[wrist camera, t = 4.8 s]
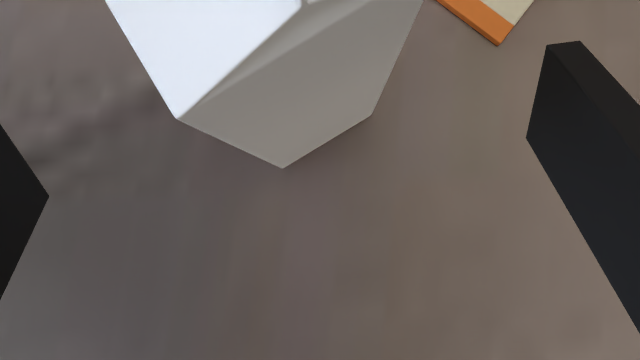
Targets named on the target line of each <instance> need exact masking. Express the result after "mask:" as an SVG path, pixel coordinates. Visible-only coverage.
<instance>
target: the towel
mask: <svg viewBox="0 0 640 360" xmlns="http://www.w3.org/2000/svg"><path fill="white" fill-rule="evenodd" d="M436 1H438V2H439V3H440V4H442V5H443V6H444V7H446V8H447V9H448V10H450V11H451V12H452V13H454V14H455V15H456V16H458V17H459V18H460V19H462V20H463V21H464V22H466V23H467V24H468V25H470V26H471V27H472V28H474V29H475V30H476V31H478V32H479V33H480V34H482V35H483V36H484V37H486V38H487V39H488V40H490V41H491V42H492V43H494V44H495V45H496V46H498V45H499V44H500V43H501V42H502V41H503V40H504V38H505V37H506V36H507V35H508V33H509V32H510V31H511V29H512V28H513V27H514V26H515V24H516V23H517V22H518V21H519V19H520V18H521V17H522V15H523V14H524V13H525V12H526V10H527V9H528V8H529V6H530V5H531V4H532V3H533V1H534V0H436Z"/></svg>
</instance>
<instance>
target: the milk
mask: <svg viewBox="0 0 640 360" xmlns="http://www.w3.org/2000/svg"><path fill="white" fill-rule="evenodd" d="M423 1H424V0H105V2H106V3H107V5H108V7H109V8H110V10H111V12H112V13H113V15H114V17H115V18H116V20H117V22H118V23H119V25H120V27H121V29H122V30H123V32H124V34H125V35H126V37H127V39H128V40H129V42H130V44H131V45H132V47H133V49H134V50H135V52H136V54H137V55H138V57H139V59H140V61H141V62H142V64H143V66H144V67H145V69H146V71H147V72H148V74H149V76H150V77H151V79H152V81H153V82H154V84H155V86H156V87H157V89H158V91H159V93H160V94H161V96H162V98H163V99H164V101H165V103H166V104H167V106H168V108H169V109H170V111H171V113H172V114H173V116H174V117H175V118H176V119H177V120H179V121H181V122H183V123H185V124H188V125H190V126H192V127H194V128H196V129H198V130H200V131H202V132H205V133H207V134H209V135H211V136H213V137H215V138H217V139H220V140H222V141H224V142H226V143H228V144H230V145H232V146H235V147H237V148H239V149H241V150H243V151H245V152H247V153H250V154H252V155H254V156H256V157H258V158H260V159H262V160H264V161H267V162H269V163H271V164H273V165H275V166H277V167H279V168H282V169H283V168H285V167H287V166H288V165H290V164H292V163H293V162H295V161H296V160H298V159H300V158H301V157H303V156H305V155H306V154H308V153H310V152H311V151H313V150H315V149H316V148H318V147H320V146H321V145H323V144H325V143H326V142H328V141H330V140H331V139H333V138H334V137H336V136H338V135H339V134H341V133H343V132H344V131H346V130H348V129H349V128H351V127H353V126H354V125H356V124H358V123H359V122H361V121H363V120H364V119H366V118H367V117H369V116H371V115H372V113H373V111H374V108H375V106H376V104H377V102H378V100H379V97H380V95H381V93H382V91H383V89H384V86H385V84H386V82H387V80H388V78H389V75H390V73H391V71H392V69H393V67H394V64H395V62H396V60H397V58H398V56H399V53H400V51H401V49H402V47H403V45H404V42H405V40H406V38H407V36H408V34H409V31H410V29H411V27H412V25H413V23H414V20H415V18H416V16H417V14H418V12H419V9H420V7H421V5H422V3H423Z"/></svg>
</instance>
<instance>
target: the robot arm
mask: <svg viewBox="0 0 640 360" xmlns="http://www.w3.org/2000/svg"><path fill="white" fill-rule="evenodd" d="M526 139H527V141H528V142H529V144H530V146H531V147H532V149H533V151H534V153H535V154H536V156H537V158H538V160H539V161H540V163H541V165H542V166H543V168H544V170H545V172H546V173H547V175H548V177H549V178H550V180H551V182H552V184H553V185H554V187H555V189H556V190H557V192H558V194H559V196H560V197H561V199H562V201H563V203H564V204H565V206H566V208H567V209H568V211H569V213H570V215H571V216H572V218H573V220H574V221H575V223H576V225H577V227H578V228H579V230H580V232H581V233H582V235H583V237H584V239H585V240H586V242H587V244H588V246H589V247H590V249H591V251H592V252H593V254H594V256H595V258H596V259H597V261H598V263H599V264H600V266H601V268H602V270H603V271H604V273H605V275H606V276H607V278H608V280H609V282H610V283H611V285H612V287H613V289H614V290H615V292H616V294H617V295H618V297H619V299H620V301H621V302H622V304H623V306H624V307H625V309H626V311H627V313H628V314H629V316H630V318H631V319H632V321H633V323H634V325H635V326H636V328H637V330H638V332H639V333H640V106H639V104H638V103H637V102H636V101H635V100H634V99H633V98H632V97H631V96H630V95H629V94H628V93H627V91H626V90H625V89H624V88H623V87H622V86H621V85H620V84H619V83H618V82H617V81H616V79H615V78H614V77H613V76H612V75H611V74H610V73H609V72H608V71H607V70H606V69H605V67H604V66H603V65H602V64H601V63H600V62H599V61H598V60H597V59H596V58H595V57H594V55H593V54H592V53H591V52H590V51H589V50H588V49H587V48H586V47H585V46H584V45H583V43H582V42H581V41H574V42H566V43H558V44H550V45H547V46H546V50H545V55H544V59H543V63H542V68H541V72H540V77H539V81H538V86H537V90H536V95H535V99H534V104H533V108H532V113H531V117H530V122H529V126H528V131H527V135H526ZM48 198H49V195H48V193H47V192H46V190H45V189H44V188H43V186H42V185H41V183H40V182H39V180H38V179H37V177H36V176H35V174H34V173H33V171H32V170H31V168H30V167H29V166H28V164H27V163H26V161H25V160H24V158H23V157H22V155H21V154H20V152H19V151H18V149H17V148H16V146H15V145H14V144H13V142H12V141H11V139H10V138H9V136H8V135H7V133H6V132H5V130H4V129H3V127H2V126H1V125H0V299H1V297H2V295H3V293H4V291H5V289H6V287H7V285H8V282H9V280H10V278H11V276H12V274H13V272H14V270H15V268H16V265H17V263H18V261H19V259H20V257H21V255H22V253H23V251H24V249H25V246H26V244H27V242H28V240H29V238H30V236H31V234H32V232H33V229H34V227H35V225H36V223H37V221H38V219H39V217H40V215H41V213H42V210H43V208H44V206H45V204H46V202H47V200H48Z"/></svg>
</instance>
